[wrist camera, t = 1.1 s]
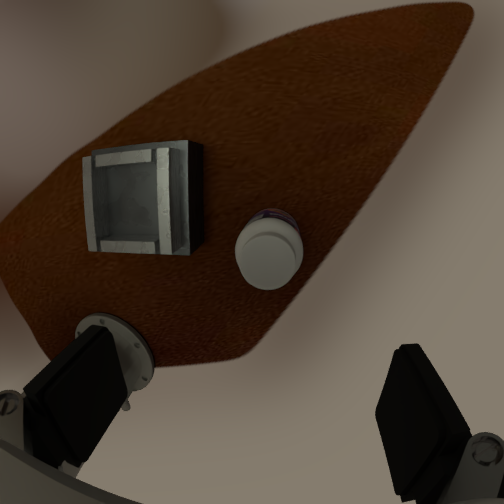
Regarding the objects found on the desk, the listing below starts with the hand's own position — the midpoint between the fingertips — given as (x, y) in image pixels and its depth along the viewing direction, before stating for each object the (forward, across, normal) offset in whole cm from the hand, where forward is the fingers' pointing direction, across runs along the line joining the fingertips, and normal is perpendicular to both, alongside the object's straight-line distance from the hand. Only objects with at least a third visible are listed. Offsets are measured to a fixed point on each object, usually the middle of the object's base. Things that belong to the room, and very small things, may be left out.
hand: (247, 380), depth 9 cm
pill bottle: (+22, 0, 0) cm, 22 cm away
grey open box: (+22, +12, -4) cm, 25 cm away
